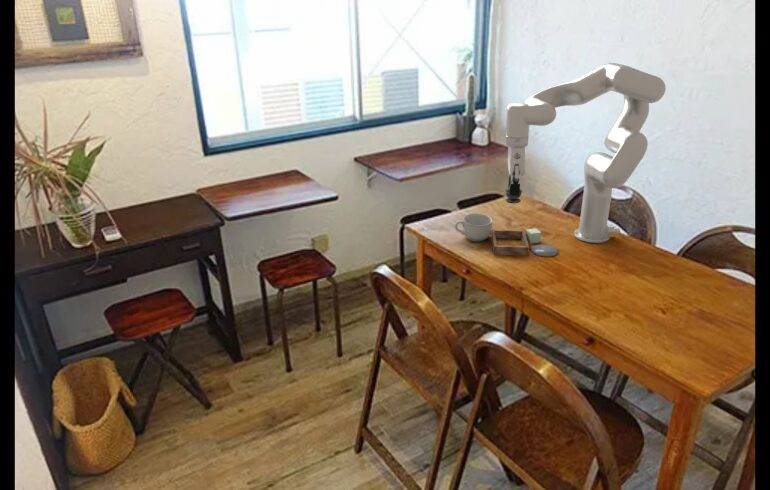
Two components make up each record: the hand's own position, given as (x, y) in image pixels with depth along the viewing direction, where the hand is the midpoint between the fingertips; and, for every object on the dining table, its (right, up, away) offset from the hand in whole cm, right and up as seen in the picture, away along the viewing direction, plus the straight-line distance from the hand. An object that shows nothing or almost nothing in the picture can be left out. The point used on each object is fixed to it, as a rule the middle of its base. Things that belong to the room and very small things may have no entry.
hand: (513, 190), depth 199 cm
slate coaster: (+12, -21, +4) cm, 24 cm away
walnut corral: (0, -19, +9) cm, 21 cm away
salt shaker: (0, -3, +2) cm, 4 cm away
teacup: (-12, -16, +16) cm, 26 cm away
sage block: (+10, -17, +12) cm, 23 cm away
